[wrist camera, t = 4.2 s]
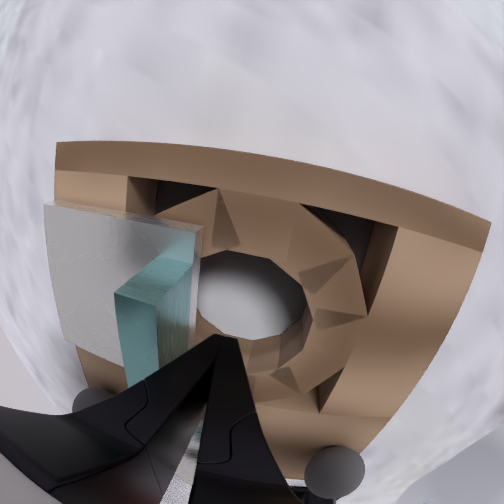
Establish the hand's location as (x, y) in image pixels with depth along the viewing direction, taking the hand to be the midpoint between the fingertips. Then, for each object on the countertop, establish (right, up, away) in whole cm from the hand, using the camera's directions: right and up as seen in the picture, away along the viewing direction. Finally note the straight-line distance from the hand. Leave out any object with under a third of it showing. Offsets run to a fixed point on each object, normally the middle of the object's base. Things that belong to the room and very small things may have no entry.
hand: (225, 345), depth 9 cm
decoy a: (+6, -9, +2) cm, 11 cm away
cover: (-5, +1, +2) cm, 5 cm away
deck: (0, -2, +5) cm, 6 cm away
